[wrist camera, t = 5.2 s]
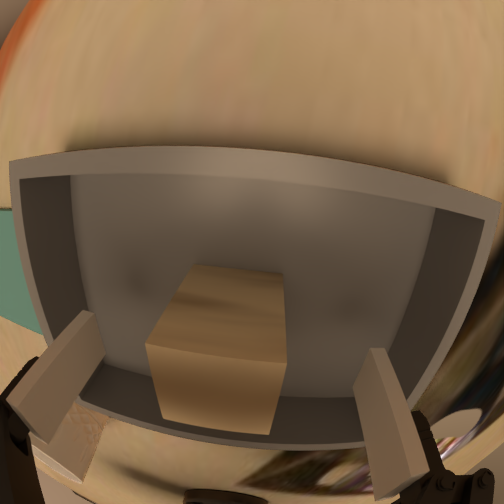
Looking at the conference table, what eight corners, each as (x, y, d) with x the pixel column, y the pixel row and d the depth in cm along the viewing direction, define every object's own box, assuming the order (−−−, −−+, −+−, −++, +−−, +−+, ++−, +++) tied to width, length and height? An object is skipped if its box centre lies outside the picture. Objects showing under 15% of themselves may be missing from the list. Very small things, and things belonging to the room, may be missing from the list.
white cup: (52, 365, 22) (7, 425, 13) (111, 397, 22) (72, 471, 13) (64, 402, 25) (31, 455, 16) (116, 429, 25) (88, 490, 16)
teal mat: (55, 335, 20) (52, 338, 19) (1, 312, 20) (-2, 314, 20) (25, 209, 15) (20, 211, 15) (-24, 208, 16) (-28, 210, 15)
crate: (371, 398, 20) (383, 444, 15) (100, 365, 20) (75, 403, 16) (448, 184, 13) (501, 203, 8) (64, 151, 14) (9, 161, 9)
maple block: (271, 342, 17) (268, 434, 11) (195, 333, 17) (163, 418, 11) (282, 273, 15) (287, 363, 9) (193, 264, 15) (144, 343, 9)
